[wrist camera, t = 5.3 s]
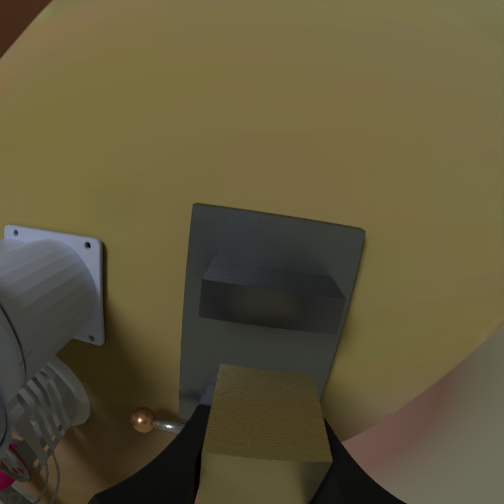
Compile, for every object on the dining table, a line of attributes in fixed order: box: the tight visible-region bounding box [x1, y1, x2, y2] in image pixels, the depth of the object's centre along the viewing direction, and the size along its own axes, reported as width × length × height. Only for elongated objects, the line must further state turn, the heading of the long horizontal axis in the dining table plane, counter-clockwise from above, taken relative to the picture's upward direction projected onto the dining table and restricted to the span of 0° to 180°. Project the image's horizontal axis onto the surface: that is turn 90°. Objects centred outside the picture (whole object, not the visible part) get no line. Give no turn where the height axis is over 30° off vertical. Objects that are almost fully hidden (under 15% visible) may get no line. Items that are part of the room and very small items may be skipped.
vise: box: [179, 203, 366, 420], centre depth 18 cm, size 10×16×4 cm, turn 172°
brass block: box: [198, 363, 333, 504], centre depth 11 cm, size 4×4×5 cm
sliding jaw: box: [130, 407, 186, 434], centre depth 19 cm, size 12×2×4 cm, turn 82°
